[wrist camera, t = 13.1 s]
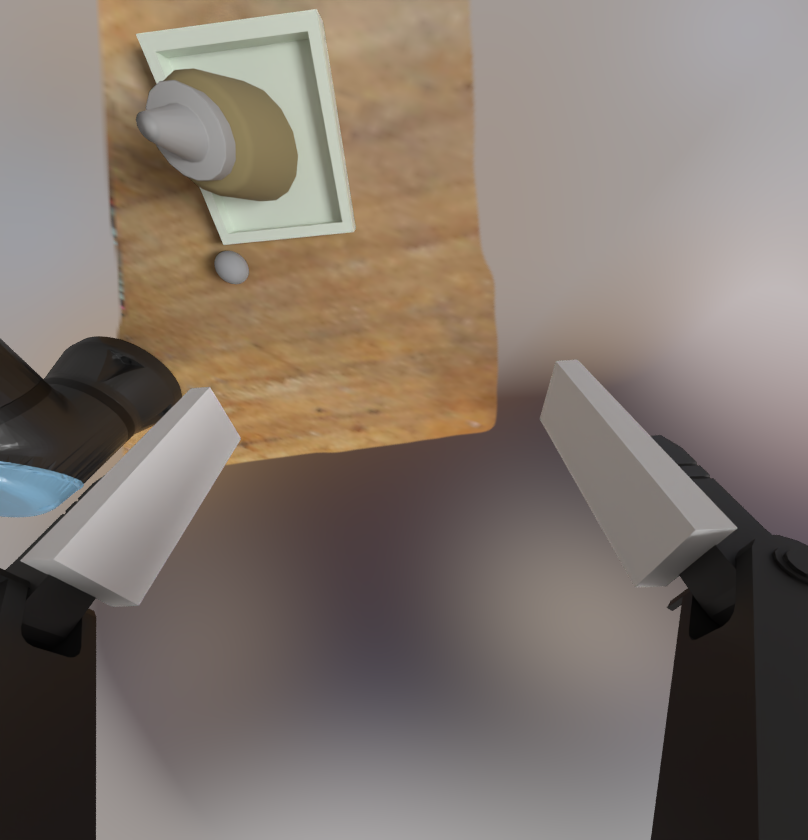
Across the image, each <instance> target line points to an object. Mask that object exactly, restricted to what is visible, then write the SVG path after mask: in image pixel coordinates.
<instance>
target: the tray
mask: <svg viewBox="0 0 808 840" xmlns="http://www.w3.org/2000/svg"><path fill="white" fill-rule="evenodd" d="M136 35H137V38H138V40H139V43H140V45H141V47H142V50H143V52H144V55H145V57H146V59H147V62H148V64H149V67H150V69H151V71H152V74H153V76H154V79H155V81H156V83H158V82H159V81H163V80H164V79H165V78H166V77H167V76H168V75H170V74H171V73H172V72H173V71H174V70H180V69H192V68H194V69H198V70H202V71H206V72H210V73H214V74H218V75H222V76H226V77H230V78H234V79H238V80H242V81H245V82H247V83H249V84H251V85H253V86H256V87H258V88H260V89H262V90H264V91H265V92H266V93H267V94H268V95H269V96H270V97H271V99H272V100H273V101H274V102H275V103H276V104H277V105H278V106H279V107H280V108H281V109H282V111H283V113H284V115H285V117H286V119H287V121H288V123H289V125H290V127H291V129H292V131H293V134H294V139H295V143H296V148H297V153H298V162H297V173H296V178H295V180H294V182H293V184H292V186H291V188H290V189H289V191H288V192H287V193H286V194H284V195H283V196H281V197H280V198H279V199H277V200H273V201H254V200H247V199H240V198H232V197H225V196H219V195H217V194H214V193H212V192H209V191H206V190H204V189H202V188H200V189H201V192H202V194H203V197H204V199H205V201H206V204H207V206H208V209H209V211H210V213H211V216H212V218H213V221H214V223H215V225H216V228H217V230H218V233H219V235H220V238H221V240H222V242H223V245H227V244H238V243H248V242H258V241H268V240H278V239H288V238H298V237H308V236H318V235H328V234H339V233H349V232H354V231H355V229H356V226H355V220H354V214H353V207H352V201H351V195H350V189H349V182H348V176H347V170H346V163H345V157H344V151H343V144H342V138H341V132H340V126H339V119H338V113H337V107H336V100H335V94H334V88H333V81H332V75H331V69H330V62H329V56H328V50H327V44H326V37H325V31H324V25H323V21H322V19H321V17H320V15H319V13H318V11H317V9H314V10H306V11H299V12H292V13H285V14H277V15H270V16H263V17H256V18H248V19H241V20H234V21H227V22H219V23H212V24H205V25H198V26H190V27H183V28H176V29H169V30H161V31H154V32H147V33H139V34H136Z"/></svg>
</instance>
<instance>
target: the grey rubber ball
mask: <svg viewBox="0 0 808 840" xmlns="http://www.w3.org/2000/svg"><path fill="white" fill-rule="evenodd" d="M215 269H216V271H217V273H218V275H219V276H220V277H221V278H222V279H223V280H225V281H226V282H228V283H231V284H240V283H242V282H244V281H245V280H246V279H247V277H248V274H249V268H248V265H247V263H246V261H245V260H244V258H243V257H242V256H240V255H239V254H238V253H236V252H233V251H223V252H221V253H219V254H218V255H217V256H216V258H215Z"/></svg>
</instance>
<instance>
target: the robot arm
mask: <svg viewBox="0 0 808 840" xmlns="http://www.w3.org/2000/svg"><path fill="white" fill-rule="evenodd" d="M540 420H541V422H542V424H543V425H544V427H545V429H546V431H547V433H548V434H549V436H550V438H551V440H552V441H553V443H554V445H555V447H556V449H557V450H558V452H559V454H560V456H561V457H562V459H563V461H564V463H565V465H566V466H567V468H568V470H569V472H570V473H571V475H572V477H573V479H574V480H575V482H576V484H577V485H578V488H579V489H580V491H581V493H582V495H583V496H584V498H585V500H586V502H587V503H588V505H589V507H590V509H591V510H592V512H593V514H594V516H595V518H596V519H597V521H598V523H599V525H600V526H601V528H602V530H603V532H604V533H605V535H606V537H607V539H608V541H609V542H610V544H611V546H612V548H613V549H614V551H615V553H616V555H617V557H618V558H619V560H620V562H621V564H622V565H623V567H624V569H625V571H626V572H627V574H628V576H629V578H630V580H631V581H632V583H633V585H634V587H658V586H667V585H669V584H670V583H671V582H672V581H673V580H675V579H676V578H677V577H678V576H680V577H681V578H682V580H683V581H684V583H685V584H686V585H687V587H688V589H686V590H685V591H683V592H682V593H681V594H679V595H678V596H677V597H675V598H674V599H673V600H671V601H670V603H669V605H668V607H667V608H668V609H670V610H672V611H673V610H675V609H676V608H677V607H679V606H680V605H681V614H680V621H679V628H678V637H677V644H676V651H675V659H674V667H673V674H672V682H671V689H670V697H669V705H668V712H667V720H666V728H665V735H664V743H663V751H662V759H661V766H660V774H659V782H658V789H657V797H656V804H655V812H654V819H653V827H652V835H651V840H808V546H807V545H805V544H803V543H801V542H799V541H797V540H793V539H790V538H786V537H783V536H780V535H771V533H770V532H768V531H767V530H766V529H764V528H763V526H762V525H761V524H759V522H758V521H756V520H755V519H754V518H753V517H752V516H751V515H750V514H749V513H748V512H747V511H746V510H745V509H744V508H743V507H742V506H741V505H740V504H739V503H738V502H737V501H736V500H735V499H734V498H733V497H732V496H731V495H730V494H729V493H728V492H727V491H726V490H725V489H724V488H723V487H722V486H721V485H719V484H718V483H717V482H716V481H715V480H714V479H713V478H712V479H711V478H710V475H709V474H708V473H707V472H706V471H705V470H704V469H703V468H702V467H701V466H698V465H697V462H696V461H695V460H694V459H693V458H692V457H691V456H690V455H689V454H687V452H686V451H685V450H684V449H683V448H681V447H680V446H678V445H676V444H675V443H673V442H671V441H670V440H668V439H666V438H665V437H663V436H661V435H658V436H650V435H649V434H648V433H647V432H646V431H645V430H644V429H643V428H642V427H641V426H640V425H639V424H638V423H637V422H636V421H635V420H634V419H633V418H632V416H631V415H630V414H629V413H628V412H627V411H626V410H625V409H624V408H623V407H622V406H621V405H620V404H619V403H618V402H617V401H616V400H615V399H614V398H613V397H612V395H611V394H610V393H609V392H608V391H607V390H606V389H605V388H604V387H603V386H602V385H601V384H600V383H599V382H598V381H597V380H596V379H595V378H594V377H593V376H592V374H591V373H590V372H589V371H588V370H587V369H586V368H585V367H584V366H583V365H582V364H581V363H580V362H579V361H578V360H566V361H556V363H555V366H554V370H553V374H552V377H551V381H550V385H549V388H548V392H547V395H546V399H545V402H544V406H543V409H542V413H541V417H540ZM153 425H154V426H153ZM151 426H153V427H152V428H151V429H150V430H149V431H148V432H147V433H146V434H145V435H144V436H143V437H142V438H141V439H140V440H139V441H138V442H137V443H136V444H135V445H134V446H133V447H132V448H131V449H130V450H129V451H128V452H127V453H126V454H125V455H124V456H123V457H122V458H121V459H120V460H119V462H118V463H116V464H115V466H114V467H113V468H112V469H111V470H110V471H109V472H108V473H107V474H106V475H104V476H103V477H102V478H100V479H99V480H97V481H96V482H94V483H93V484H92V485H91V486H90V487H89V488H88V489H87V490H86V491H85V492H84V493H83V494H82V495H81V496H80V497H79V498H78V501H76V502H74V503H73V504H72V505H71V506H70V507H69V508H68V509H67V510H66V513H65V514H62V515H61V516H60V517H59V518H58V519H57V520H56V521H55V522H54V523H53V524H52V525H51V526H50V527H49V528H48V529H47V530H46V531H45V532H44V533H43V534H42V535H41V536H40V537H39V538H38V539H37V540H36V541H35V542H34V543H33V544H32V545H31V546H30V547H29V548H28V549H27V550H26V551H25V552H24V553H23V554H22V555H21V556H20V557H19V558H18V559H17V560H16V561H15V562H14V563H13V564H11V565H10V566H9V567H8V568H7V569H6V570H3V569H1V568H0V840H96V615H95V612H94V611H93V610H91V609H88V608H89V607H90V605H91V604H92V602H93V601H94V600H95V599H98V600H100V601H102V602H104V603H106V604H108V605H110V606H112V607H115V606H138V605H139V604H140V603H141V601H142V599H143V598H144V596H145V595H146V593H147V591H148V590H149V588H150V586H151V585H152V583H153V581H154V580H155V578H156V576H157V575H158V573H159V572H160V570H161V568H162V567H163V565H164V564H165V562H166V560H167V559H168V557H169V555H170V554H171V552H172V550H173V549H174V547H175V545H176V544H177V542H178V541H179V539H180V537H181V536H182V534H183V533H184V531H185V529H186V528H187V526H188V524H189V523H190V521H191V519H192V518H193V516H194V515H195V513H196V511H197V510H198V508H199V506H200V505H201V503H202V501H203V500H204V498H205V496H206V495H207V493H208V492H209V490H210V488H211V487H212V485H213V484H214V482H215V480H216V478H217V477H218V475H219V474H220V472H221V470H222V469H223V467H224V466H225V464H226V462H227V461H228V459H229V457H230V456H231V454H232V453H233V451H234V449H235V448H236V446H237V444H238V443H239V441H240V439H241V438H240V436H239V434H238V433H237V431H236V429H235V428H234V426H233V424H232V423H231V421H230V419H229V418H228V416H227V414H226V413H225V411H224V409H223V408H222V406H221V404H220V403H219V401H218V400H217V398H216V396H215V395H214V393H213V391H212V390H211V388H210V387H203V388H191V389H190V390H189V391H188V392H187V393H186V394H185V395H184V396H183V397H182V394H181V389H180V386H179V384H178V382H177V380H176V379H175V377H174V376H173V374H172V373H171V372H170V371H169V370H168V368H167V367H166V366H165V365H163V364H162V363H161V362H160V361H159V360H158V359H156V358H155V357H154V356H152V355H151V354H149V353H148V352H146V351H145V350H143V349H141V348H139V347H137V346H135V345H133V344H131V343H128V342H125V341H122V340H119V339H115V338H110V337H90V338H86V339H84V340H82V341H80V342H78V343H76V344H74V345H72V346H70V347H69V348H68V349H66V350H65V351H64V353H63V354H62V355H61V357H60V358H59V360H58V361H57V362H56V364H55V365H54V366H53V368H52V369H51V370H50V372H49V373H48V374H47V376H46V377H45V378H44V379H42V378H41V377H40V376H39V375H38V374H37V373H36V372H35V371H34V370H33V369H32V368H31V367H30V366H29V365H28V364H27V363H26V362H25V361H24V360H22V359H21V358H20V357H19V356H18V355H17V354H16V353H15V352H14V351H13V350H12V349H11V348H10V347H9V346H8V345H7V344H5V342H3V341H2V340H1V339H0V516H2V517H30V516H37V515H40V514H44V513H47V512H49V511H51V510H53V509H55V508H56V507H58V506H59V505H60V504H61V503H63V502H64V501H65V500H66V499H67V498H69V497H70V496H71V495H72V494H73V493H75V492H76V491H77V490H79V489H81V488H82V487H83V485H84V483H85V482H86V481H87V480H88V479H89V478H90V477H91V476H92V475H93V474H94V473H95V472H96V471H97V470H98V469H99V468H100V467H101V466H102V465H103V464H104V463H105V462H106V461H108V460H109V459H110V457H111V456H112V455H114V454H115V453H116V452H117V451H118V450H119V449H120V448H121V447H122V446H123V445H124V444H125V443H126V442H127V441H128V440H129V439H130V438H131V437H132V436H133V435H134V434H136V433H138V432H141V431H143V430H145V429H147V428H149V427H151Z"/></svg>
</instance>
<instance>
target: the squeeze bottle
mask: <svg viewBox="0 0 808 840" xmlns="http://www.w3.org/2000/svg"><path fill="white" fill-rule="evenodd" d="M136 122H137V126H138V128H139V130H140V132H141V133H142V135H143V136H144V137H145V138H147V139H148V140H149V141H151V142H153V143H155V144H156V145H157V147H158V149H159V150H160V151H161V153H162V154H163V155H164V157H165V158H166V159H167V161H168V162H169V163H170V164H171V165H172V166H173V167H174V168H176V169H177V170H178V171H179V172H181V173H182V174H183V175H184V176H187V177H188V178H189V179H191V180H192V181H193V182H194V183H196V184H197V185H198V186H199V187H200V188H202V189H204V190H206V191H209V192H212V193H214V194H217V195H219V196H225V197H232V198H240V199H247V200H254V201H273V200H277V199H279V198H280V197H281V196H283V195H284V194H286V193H287V192H288V191H289V189H290V188H291V186H292V184H293V182H294V180H295V178H296V173H297V162H298V153H297V148H296V143H295V139H294V134H293V131H292V129H291V127H290V125H289V123H288V121H287V119H286V117H285V115H284V113H283V111H282V109H281V108H280V107H279V106H278V105H277V104H276V103H275V102H274V101H273V100H272V99H271V97H270V96H269V95H268V94H267V93H266V92H265V91H264V90H262V89H260V88H258V87H256V86H253V85H251V84H249V83H247V82H245V81H242V80H238V79H234V78H230V77H226V76H222V75H218V74H214V73H210V72H206V71H202V70H198V69H194V68H192V69H180V70H174V71H173V72H172V73H171V74H170V75H168V76H167V77H166V78H165V79H164V80H163V81H159V82H158V83H157V84H156V85H155V86H154V87H153V88H152V89H151V90H150V91H149V96H148V100H147V104H146V111H142V112H139V113H138V114H137V117H136Z"/></svg>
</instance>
